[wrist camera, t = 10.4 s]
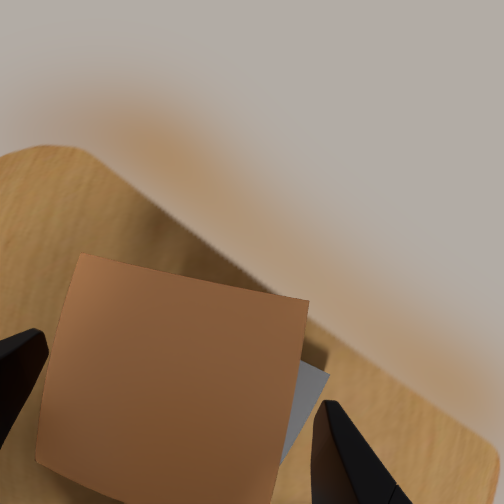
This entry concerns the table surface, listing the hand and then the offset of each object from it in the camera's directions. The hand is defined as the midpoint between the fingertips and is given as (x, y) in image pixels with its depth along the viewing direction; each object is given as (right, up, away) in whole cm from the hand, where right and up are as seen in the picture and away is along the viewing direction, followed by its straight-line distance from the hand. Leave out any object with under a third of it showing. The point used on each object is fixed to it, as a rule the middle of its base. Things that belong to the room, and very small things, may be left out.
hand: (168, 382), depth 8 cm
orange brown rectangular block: (0, -4, +8) cm, 8 cm away
